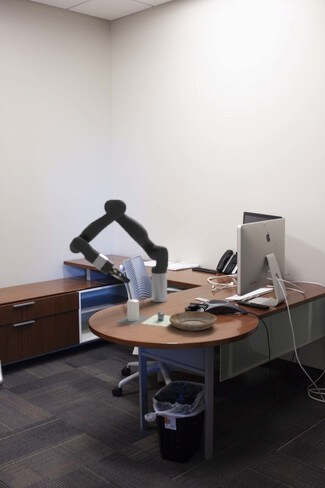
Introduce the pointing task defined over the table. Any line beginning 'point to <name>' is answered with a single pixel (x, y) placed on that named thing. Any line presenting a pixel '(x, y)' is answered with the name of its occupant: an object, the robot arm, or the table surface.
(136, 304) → the white lidded canister
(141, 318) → the mat
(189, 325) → the ceramic bowl
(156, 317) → the board
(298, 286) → the table surface
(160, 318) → the peg
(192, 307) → the end cap
